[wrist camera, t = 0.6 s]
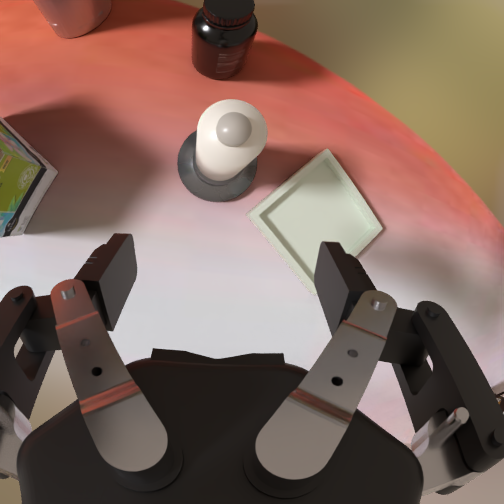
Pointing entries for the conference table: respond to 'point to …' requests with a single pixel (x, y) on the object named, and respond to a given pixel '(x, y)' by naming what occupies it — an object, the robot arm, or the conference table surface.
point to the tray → (314, 216)
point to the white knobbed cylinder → (229, 138)
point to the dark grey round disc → (209, 187)
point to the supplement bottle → (223, 37)
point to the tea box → (20, 181)
